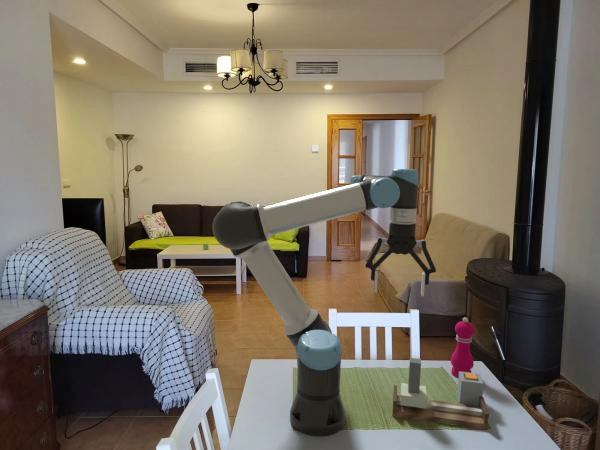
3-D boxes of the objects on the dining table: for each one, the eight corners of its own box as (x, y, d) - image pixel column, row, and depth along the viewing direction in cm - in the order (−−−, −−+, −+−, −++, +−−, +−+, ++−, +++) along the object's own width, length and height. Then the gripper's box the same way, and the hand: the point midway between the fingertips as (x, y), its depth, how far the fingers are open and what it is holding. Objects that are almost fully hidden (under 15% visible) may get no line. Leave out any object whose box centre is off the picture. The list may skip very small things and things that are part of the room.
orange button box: (459, 406, 129) (461, 380, 128) (457, 396, 135) (458, 371, 133) (481, 409, 127) (483, 383, 126) (477, 398, 133) (480, 373, 132)
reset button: (464, 396, 130) (466, 377, 129) (463, 391, 132) (465, 372, 132) (475, 398, 129) (477, 378, 128) (474, 392, 132) (475, 374, 131)
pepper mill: (474, 380, 144) (479, 322, 141) (451, 378, 146) (455, 320, 143) (470, 370, 151) (475, 314, 148) (448, 368, 153) (452, 312, 150)
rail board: (392, 415, 123) (393, 400, 123) (393, 399, 132) (393, 385, 131) (487, 429, 118) (489, 414, 117) (481, 411, 126) (483, 396, 126)
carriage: (400, 405, 123) (402, 364, 122) (400, 392, 130) (402, 354, 128) (426, 408, 122) (429, 367, 120) (425, 395, 129) (427, 356, 127)
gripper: (358, 221, 127) (355, 292, 130) (448, 226, 122) (443, 300, 125) (360, 218, 135) (358, 286, 138) (446, 222, 129) (441, 292, 132)
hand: (398, 293), depth 131 cm, fingers open, 13 cm apart
